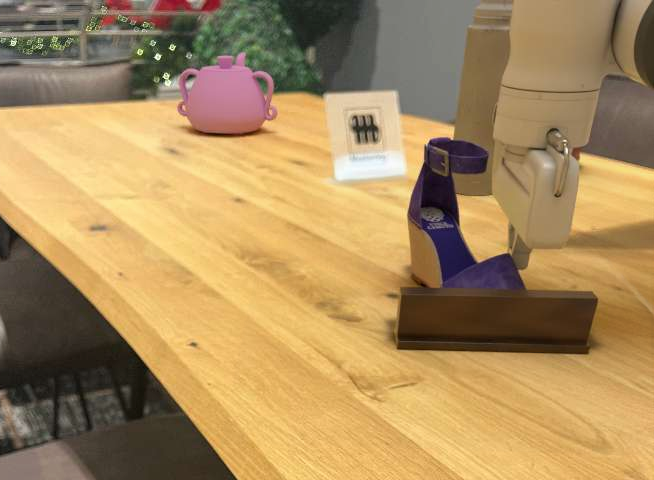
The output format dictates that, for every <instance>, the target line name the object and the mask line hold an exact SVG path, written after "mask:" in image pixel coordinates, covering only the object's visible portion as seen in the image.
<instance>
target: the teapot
mask: <svg viewBox="0 0 654 480" xmlns="http://www.w3.org/2000/svg"><path fill="white" fill-rule="evenodd" d="M246 57H247V53H246V52H245V51H242V52H239V54H237V56H236V60H235V57H234V56H233V55H218V56H216V60H217V63H218V65H207V66H203V67H201V68H200V69H199V70H198V69H196V68H187V69H185V70H184V71H183V72H182V73H181V74H180V75H179V79H178V85H179V86H178V87H179V91H180V95H181V97H182V100H181V101H179V102H178V104H177V107H176V109H177V113H178V114H179V115H180V116H182V117H186V119H187V120H188V122H189V124H191V126H192V127H193V128H194V129H195V130H197V131H199V132H202V133H203V134H231V135H232V136H233V135H234V136H242V135H244V133H250V132H255V131H258V130H259V129H261V127H262V126H263V124H264V123H265V122H266V121H269V122H270V121H274V120H276V118H277V117H278V109H277V106H275V105H271V104H272V99H273V95H274V90H275V84H274V80H273V78H272V76H271V74H269V73H268V72H266V71H264V70H263V71H262V70H257V71H254V72H253V70H252V69H251V68H250V67H248V66H246V65H245V62H246ZM234 60H235V62H234ZM233 63H235V64H234V65H233ZM189 75H192V76H196V77H195V79H194V80H193V83H192V84H191V88H190V89H189V92H188V90H187V85H186V79H187V77H188V76H189ZM257 78H263V79H265V81H266V82H267V93H266V96H265V93H264V91H263V89H262V87H261V84H260V83H259V81H258V79H257ZM183 106H184V109H185V110H184V109H183ZM270 110H271V111H272V114H270Z"/></svg>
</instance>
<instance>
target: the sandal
mask: <svg viewBox="0 0 654 480" xmlns="http://www.w3.org/2000/svg"><path fill="white" fill-rule="evenodd" d="M423 148H424V149H423V163H422V166H421V168H420V171H419V173H418V175H417V176H418V177H417V179H416V182H415V184H414V187H413V189H412V192H411V195H410V201H409V205H408V209H407V214H406V218H407V219H406V220H407V227H408V228H407V229H408V238H409V239H408V240H409V248H410V251H409V252H410V269H411V278H412V279H413V280H414V281H416V283H418V284H419V285H425V287H428V288H472V289H516V290H527V287H526V285H525V283H524V281H523V278H522V276H521V274H520V270H518V269H517V267H516V265H515V263H514V261H513V259H512V257H511V255H510V253H507V252H504V253H501V254H498V255H494V256H492V257H489V258H487V259H484V260H481V261H478V260H477V258H476V257H475V255H474V254H473V252H472V251H471V249H470V247H469V245H468V243H467V241H466V239H465V237H464V234H463V232H462V230H461V222H460V208H459V202H458V201H459V200H458V197H457V193H456V191H455V185H454V180H453V175H452V173H456V174H464V175H467V174H482V173H484V172H485V171H486V167H487V162H488V156H489V152H488V151H487V150H486V149H485V148H483V147H481V146H479V145H477V144H474V143H471V142H468V141H464V140H453V139H451V137H449V136H440V137H434V138H430V139H429V141H428V142H427V144H426V143H424V145H423ZM458 164H459V165H458Z"/></svg>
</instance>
